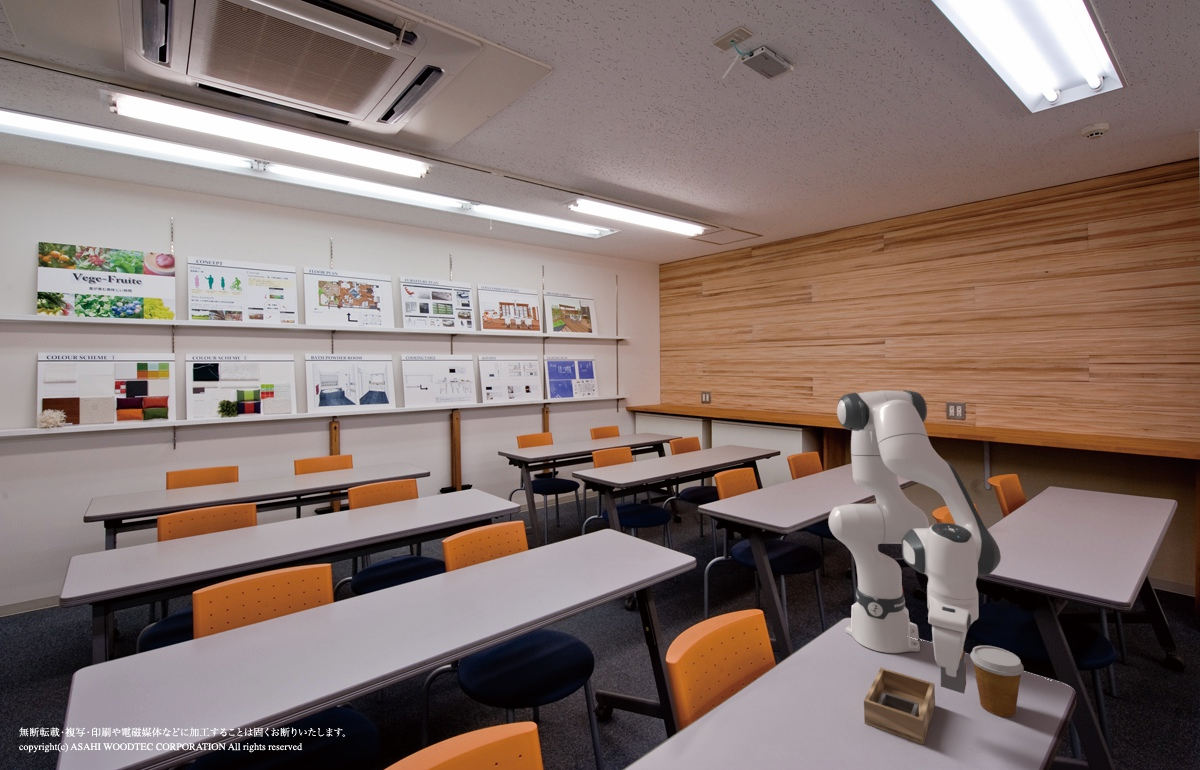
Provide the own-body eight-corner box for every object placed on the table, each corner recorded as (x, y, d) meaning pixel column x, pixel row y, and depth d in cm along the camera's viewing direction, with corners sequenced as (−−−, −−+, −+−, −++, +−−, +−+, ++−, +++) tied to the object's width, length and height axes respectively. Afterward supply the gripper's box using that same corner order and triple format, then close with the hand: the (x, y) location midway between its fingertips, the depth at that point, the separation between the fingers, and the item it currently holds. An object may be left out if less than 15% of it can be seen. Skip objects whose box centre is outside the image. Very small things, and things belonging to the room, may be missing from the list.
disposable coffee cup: (1009, 697, 119) (1007, 645, 119) (1035, 724, 110) (1033, 668, 110) (963, 693, 121) (962, 643, 121) (984, 720, 112) (983, 665, 112)
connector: (943, 677, 111) (943, 640, 110) (966, 683, 108) (965, 647, 108) (940, 686, 108) (940, 649, 107) (964, 693, 105) (963, 655, 105)
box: (881, 687, 125) (880, 667, 124) (935, 705, 117) (934, 683, 117) (864, 723, 112) (863, 700, 112) (923, 745, 105) (922, 720, 105)
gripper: (941, 582, 117) (942, 641, 118) (926, 619, 102) (927, 687, 102) (975, 589, 113) (976, 650, 114) (965, 629, 97) (966, 699, 98)
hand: (953, 668), depth 108 cm, fingers closed on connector, 4 cm apart
